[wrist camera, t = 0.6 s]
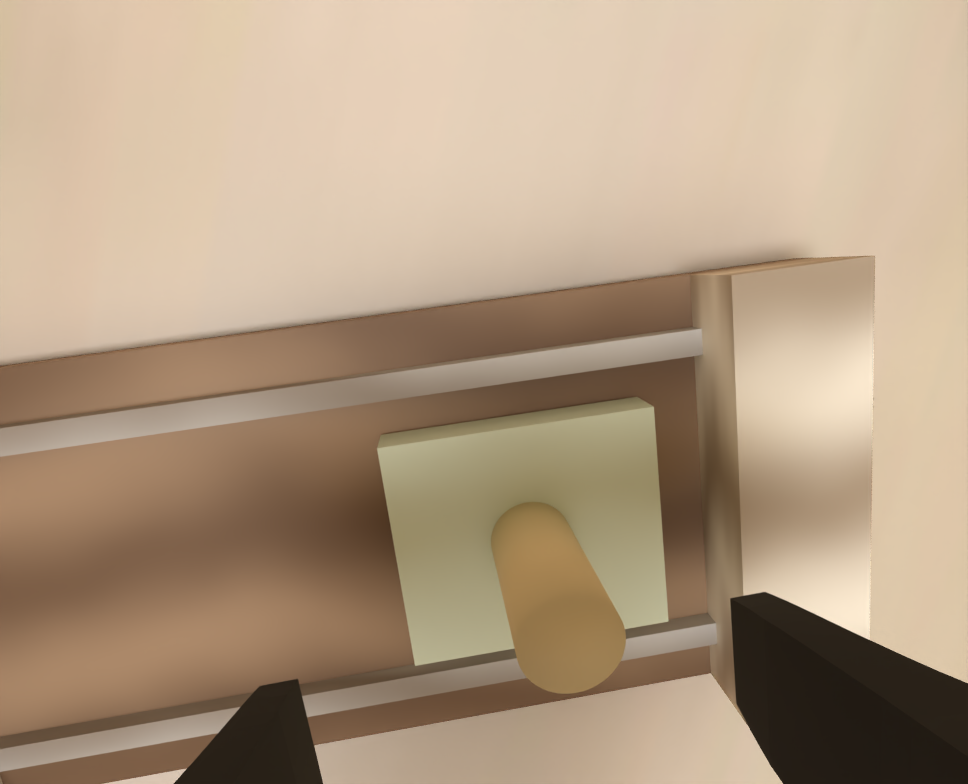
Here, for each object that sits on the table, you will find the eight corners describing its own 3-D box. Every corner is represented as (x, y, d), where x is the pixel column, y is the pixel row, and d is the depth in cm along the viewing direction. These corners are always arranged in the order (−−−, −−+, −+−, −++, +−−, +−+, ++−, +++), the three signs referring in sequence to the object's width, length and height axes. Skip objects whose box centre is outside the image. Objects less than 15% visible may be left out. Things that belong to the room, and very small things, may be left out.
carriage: (652, 597, 20) (755, 747, 14) (415, 638, 19) (410, 814, 13) (636, 396, 18) (745, 461, 12) (381, 434, 18) (355, 523, 12)
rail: (800, 636, 22) (873, 708, 18) (-93, 797, 20) (-208, 912, 16) (794, 258, 19) (880, 255, 15) (-254, 400, 17) (-438, 435, 13)
